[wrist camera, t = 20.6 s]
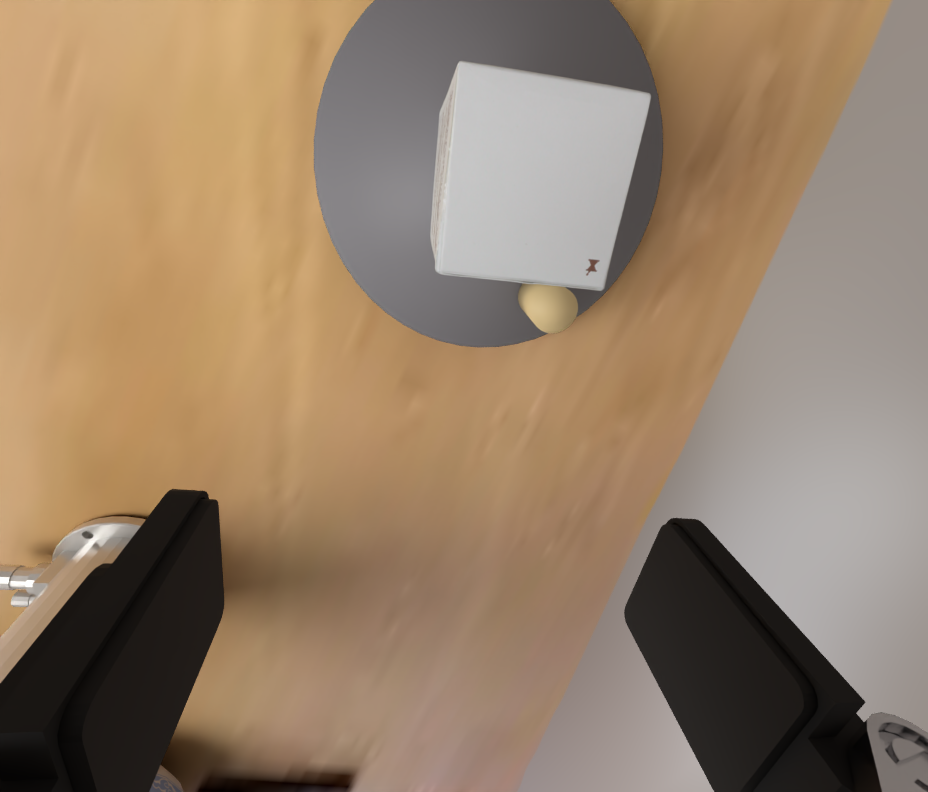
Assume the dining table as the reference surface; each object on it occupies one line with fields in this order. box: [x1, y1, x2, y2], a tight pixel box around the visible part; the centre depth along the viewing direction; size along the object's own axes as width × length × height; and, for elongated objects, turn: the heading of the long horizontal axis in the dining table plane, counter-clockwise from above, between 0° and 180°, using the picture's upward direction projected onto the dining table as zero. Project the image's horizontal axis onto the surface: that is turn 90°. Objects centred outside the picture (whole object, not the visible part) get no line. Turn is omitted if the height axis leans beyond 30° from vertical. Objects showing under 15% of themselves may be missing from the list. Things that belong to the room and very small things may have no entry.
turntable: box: [314, 0, 663, 347], centre depth 27 cm, size 22×22×6 cm
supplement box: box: [430, 61, 651, 291], centre depth 22 cm, size 7×7×13 cm
